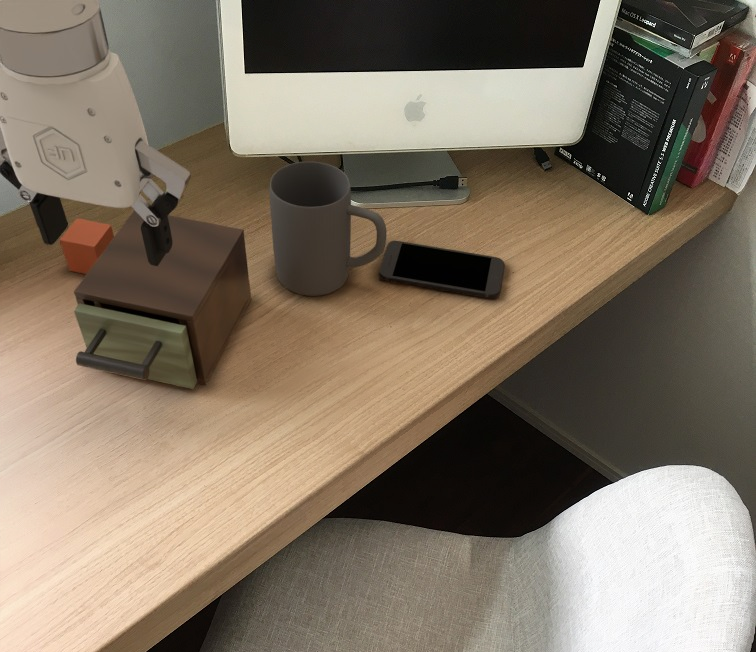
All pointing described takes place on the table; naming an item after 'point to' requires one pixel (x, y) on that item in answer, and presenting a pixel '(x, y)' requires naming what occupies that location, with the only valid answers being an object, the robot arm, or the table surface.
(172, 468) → the table surface
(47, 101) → the robot arm
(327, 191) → the mug
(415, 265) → the smartphone
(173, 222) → the cabinet
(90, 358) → the drawer
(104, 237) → the block
